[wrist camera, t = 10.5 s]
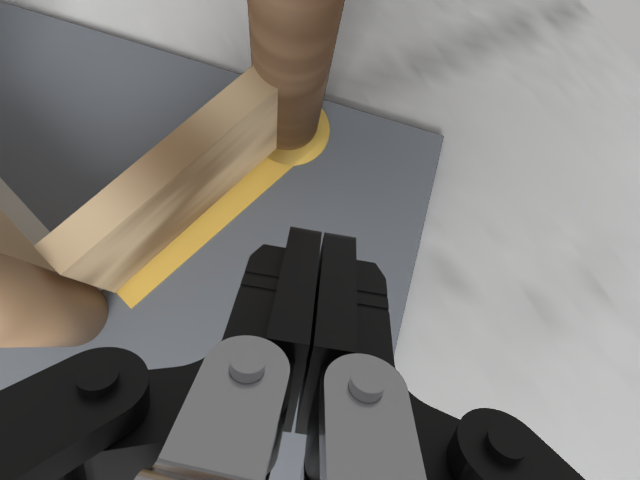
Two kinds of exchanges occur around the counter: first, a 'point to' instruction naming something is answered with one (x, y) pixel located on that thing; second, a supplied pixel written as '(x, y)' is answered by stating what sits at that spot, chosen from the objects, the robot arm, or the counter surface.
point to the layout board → (201, 236)
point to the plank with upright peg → (206, 148)
